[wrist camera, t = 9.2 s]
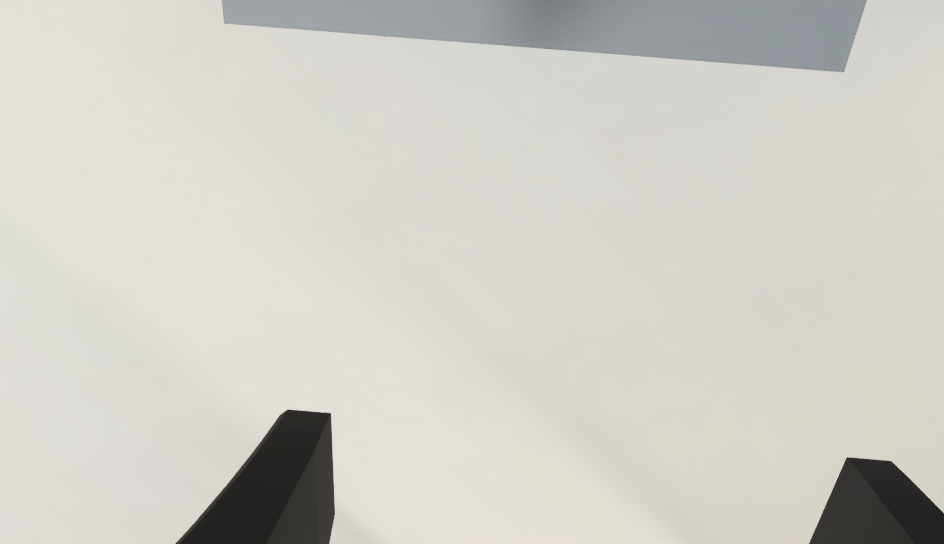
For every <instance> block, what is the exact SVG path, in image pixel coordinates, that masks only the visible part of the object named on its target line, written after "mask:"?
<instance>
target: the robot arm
mask: <svg viewBox="0 0 944 544" xmlns="http://www.w3.org/2000/svg"><path fill="white" fill-rule="evenodd" d="M334 515H335V509H334V483H333V457H332V431H331V413H320V412H309V411H297V410H287V411H285V412H284V413H282V414H281V415H280V416H279V417H278V419H277V420H276V422H275V423H274V425H273V426H272V427H271V429H270V430H269V432H268V433H267V434H266V436H265V437H264V438H263V440H262V441H261V442H260V444H259V445H258V446H257V448H256V449H255V450H254V452H253V453H252V454H251V455H250V457H249V458H248V459H247V461H246V462H245V463H244V464H243V466H242V467H241V468H240V469H239V471H238V472H237V473H236V474H235V476H234V477H233V478H232V479H231V481H230V482H229V483H228V484H227V486H226V487H225V488H224V489H223V490H222V491H221V493H220V494H219V495H218V496H217V497H216V498H215V500H214V501H213V502H212V503H211V504H210V505H209V507H208V508H207V509H206V510H205V511H204V513H203V514H202V515H201V516H200V517H199V518H198V520H197V521H196V522H195V523H194V524H193V525H192V526H191V528H190V529H189V530H188V531H187V532H186V533H185V534H184V535H183V536H182V537H181V538H180V540H179V541H178V542H177V543H176V544H329V541H330V536H331V530H332V525H333V520H334ZM809 544H944V513H943V512H942V511H941V510H940V509H939V508H938V507H937V506H936V505H935V504H934V503H933V502H932V501H931V500H930V499H929V498H928V497H927V496H926V495H925V494H924V493H923V492H922V491H921V490H920V489H919V488H918V487H917V486H916V485H915V484H914V483H913V482H912V481H911V480H910V479H909V478H908V477H907V476H906V475H905V474H904V473H903V472H902V471H901V470H900V469H899V468H898V467H897V466H896V465H895V464H893V463H892V462H891V461H882V460H871V459H859V458H846V461H845V463H844V465H843V468H842V470H841V472H840V474H839V477H838V479H837V481H836V484H835V486H834V488H833V490H832V493H831V495H830V497H829V500H828V502H827V504H826V506H825V509H824V511H823V513H822V516H821V518H820V520H819V522H818V525H817V527H816V529H815V532H814V534H813V536H812V538H811V541H810V543H809Z"/></svg>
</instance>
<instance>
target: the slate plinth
mask: <svg viewBox="0 0 944 544" xmlns="http://www.w3.org/2000/svg"><path fill="white" fill-rule="evenodd" d="M866 1H867V0H222V5H223V15H224V23H226V24H239V25H252V26H264V27H277V28H290V29H302V30H315V31H328V32H340V33H353V34H366V35H378V36H391V37H404V38H417V39H429V40H442V41H455V42H467V43H480V44H493V45H505V46H518V47H531V48H543V49H556V50H569V51H582V52H594V53H607V54H620V55H632V56H645V57H658V58H670V59H683V60H696V61H708V62H721V63H734V64H746V65H759V66H772V67H785V68H797V69H810V70H823V71H835V72H844V70H845V67H846V64H847V61H848V57H849V54H850V51H851V48H852V45H853V42H854V39H855V35H856V32H857V29H858V26H859V23H860V20H861V17H862V13H863V10H864V7H865V4H866Z"/></svg>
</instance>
